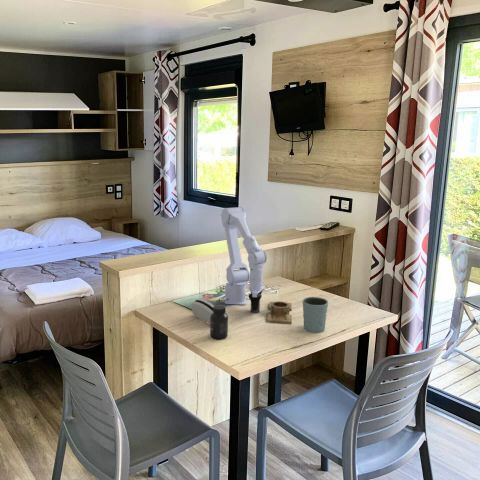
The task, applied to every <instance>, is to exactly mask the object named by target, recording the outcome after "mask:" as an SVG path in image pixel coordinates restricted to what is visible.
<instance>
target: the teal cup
mask: <svg viewBox="0 0 480 480" xmlns="http://www.w3.org/2000/svg"><path fill="white" fill-rule="evenodd" d="M328 307H329V301H328V300H327V299H326V298H323V297H319V296H307V297H305V298H303V299H302V311H303V313H302V314H303V315H302V316H303V329H304V330H305V331H306V332H309V333H312V334H313V333H314V334H320V333H323V332H324V331H325V330H326V321H327V312H328Z"/></svg>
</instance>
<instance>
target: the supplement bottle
mask: <svg viewBox="0 0 480 480" xmlns="http://www.w3.org/2000/svg"><path fill="white" fill-rule="evenodd" d="M226 309H227V308H226V306H225V305H222V304H221V305H220V304H218V305H217V304H216V305H214V307H213V313H212V314H211V316H210V324H209V336H210V338H211V339H212V338H213V339H212V340H215V339H216V341H219V340H220V341H222V339H223V340H226V339H227V338H228V336H229V335H228V334H229V315H228V314H227V313H226V312H227V311H226Z"/></svg>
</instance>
